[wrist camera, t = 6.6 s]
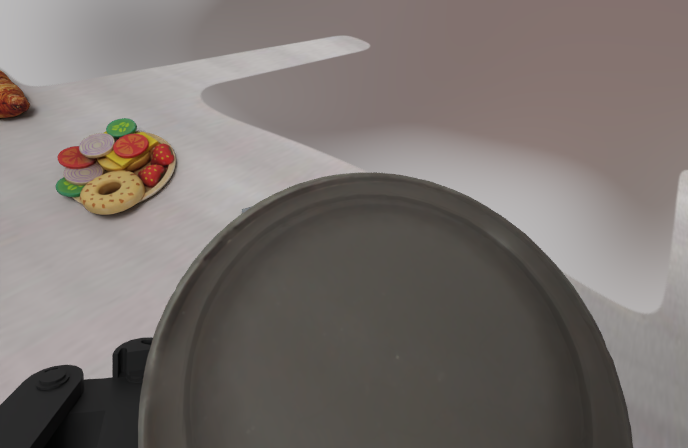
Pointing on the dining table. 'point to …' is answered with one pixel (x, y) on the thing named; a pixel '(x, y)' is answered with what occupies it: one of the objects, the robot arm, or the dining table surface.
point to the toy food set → (116, 168)
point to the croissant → (11, 98)
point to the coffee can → (377, 331)
